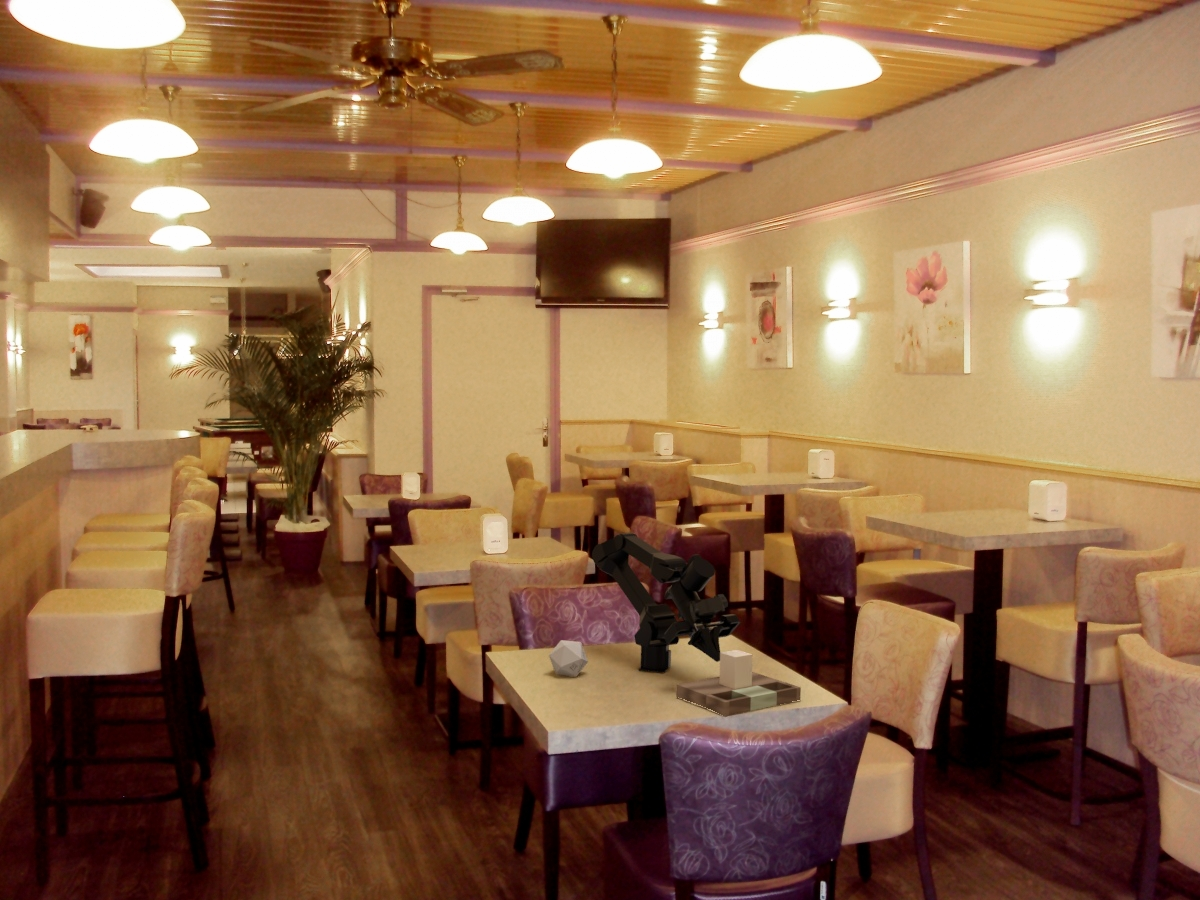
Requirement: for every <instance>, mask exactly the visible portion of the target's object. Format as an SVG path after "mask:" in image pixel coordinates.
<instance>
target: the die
mask: <svg viewBox="0 0 1200 900" xmlns="http://www.w3.org/2000/svg"><path fill="white" fill-rule="evenodd" d="M548 657H549V661H550V662H551V665H552V667H553V671H554V673H555V675H556V676H562V677H563V676H565V677H574V678H577V677H578V675H579V674H580V673H581V672H582V670H583V669H584V668H585V666H586V665H587V664H588V663H589V661H588V660H589V659H588V658H587V655H586V652H585V649H584V646H583V644H582V642H581V641H575V640H574V641H572V640H563V639H561V640H559V642H558V643H557V644H556V646H555V647H554V648H553V649H552V651H550V653H549V655H548Z"/></svg>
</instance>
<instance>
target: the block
mask: <svg viewBox="0 0 1200 900" xmlns="http://www.w3.org/2000/svg"><path fill="white" fill-rule="evenodd" d="M752 672H753V654H752V653H748V652H745V651H743V650H739V649H733V650H727V651H722V652H721V651H720V661H719V677H720V682H719V684H721V685H724V686H727V687H730V688H733V689H738V688H743V687H749V686H752Z"/></svg>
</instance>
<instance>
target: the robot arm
mask: <svg viewBox="0 0 1200 900" xmlns="http://www.w3.org/2000/svg"><path fill="white" fill-rule="evenodd" d="M630 556H631V557H632V558H634V559H635V560H637V561H638V562H639V563H641V564H642V565H644V566H646V567H647V568H648V569H649V571H650V574H651V576H652V578H654V579H655V580H656V581H657V582H658V583H660V584H670V583H672V584H671V585H670V586H668V587H666V590H665V592H664V599H665V600H672V601H673V603H674V605H675V606H676V609H677V611H678V612H677V615H676V614H675V613H674V612H673V611H672V609H671V607H670V605H668V604H667V603H664V604H663V603H661V604H657V603H656V601H655V600H654V599H653V597H652V595H651V594H650V593H649V591H648V590H647V589H646V587H645V585H643V583H642V582H641V580H640V578H639V577H637V575H636V573H635V572H634V570H633V569H632V568H631V566H630V565H629V561H630ZM591 557H592V558H591V559H592V560H593V562H594V564H595V565H596V566H597V567H598V569H599V570H601V572H604V573H606V574H608V575H609V576H611V577H612V578H613V579H614V581H615V582H616V583H617V585H618V587H620V589H621V591H622V592H623V593H624V595H625V597H626V598H627V599H628V601H629V602H630V604H631V605H632V606H633V608H634V609H635V610H636V613H637V614H638V615H639V621H638V623H639V625H638V626H639V629H638V630H637V632H636V633H635V634H634V635H633V636H634V641H635V644H636V645H638V646H640V667H639V668H638V671H641V672H651V673H666V672H667V671H668V670H669V669H670V668H671V665H672V650H671V649H670V646H672V645H673V646H674V645H678V643H679V642H680V638H679V637H683V636H689V641H687V645H688V646H693V647H694V648H695V649H697V650H699V651H700V652H702V653H703V654H705V655H706V656H708V657H709V658H710V659H712V660H713V661H714V662H716V663H718V662H720V652H721V647H720V638H726V637H728V636H731V634H733V632H734V631H735V630H736V628H737V627H738V626H739V625H740V624H741V621H740V619H739V618H738V615H737V614H733V613H729V614H723V615H720V617H719V618H718V619H717V621H715V622H713V620H715V619H716V618H717V615H716V614H718V613H720V612H725V611H726V610H725V609H726V608H728V606H729V602H728V599H727V597H726V596H725V595H724V594H723V593H720V594H717V595H714V596H713V597H710V598H709V597H708V598H702V599H701V598H700V597H699V595H698V592H701V591H702V590H703V589H704V588H705V587H706V586H707V584H708V583H709V581H710V580H711V579H712V578H713V577H714V575H715V573H716V571H715V570H716V569H715V567H714V565H713V564H711V563H710V561H708V560H707V559H706V558H703V557H701V555H700V554H692V555H691V556H690V558H689V560H688V561H687V562H686V560H685V559H684V558H683V557H681V556H677V555H676V554H669V553H664V552H661V551H660V550H658V549H657V548H656V547H654V546H652V545H651V544H649V543H647V542H646V541H644V540H643V539H641V538H640V537H639V536H638V535H637V534H636V533H634V532H626V533H625V532H623V533H618V534H617V535H615V536H614V537H612V538H610V539H608V540H606V541H603V542H601V543H597V544H595V546H594V547H593V550H592V553H591ZM676 617H677V618H678V619H677V618H676ZM680 619H682V620H680ZM679 620H680V621H679Z"/></svg>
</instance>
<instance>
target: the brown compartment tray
mask: <svg viewBox="0 0 1200 900" xmlns="http://www.w3.org/2000/svg"><path fill="white" fill-rule="evenodd" d="M719 682H720V676H716V677H711V678H705V679H700V680H694V681H688V682H683V683H676V691H675V693H676V696H675V697H679V698H682V699H685V700H687V701H690V702H693V703H696V704H698V705H701V706H703V707H706V708H708V709H711V710H713V711H715V712H717V713H719V714H718V715H720V714H721V715H720V716H722V715H723V716H722V717H730V716H734V715H739V714H743V712H744V713H748V711H749V712H753V711H752V710H754V711H757V710H756V709H759V710H762V709H761V708H763V709H767V708H766V707H768V708H771V707H770V706H773V707H776V706H775V705H778V706H781V705H780V704H783V705H785V704H784V703H788V704H790V703H789V702H792V701H797V700H800V701H801V691H802V689H801V688H802V687H801V686H799V685H795V684H792V683H788V682H786V681H782V680H779V679H776V678H773V677H770V676H767V675H763V674H760V673H757V672H755V671H752V686H749V687H743V688H738V689H733V688H730V687H727V686H724V685H721V684H719ZM797 702H798V701H797ZM717 713H716V714H717Z"/></svg>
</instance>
